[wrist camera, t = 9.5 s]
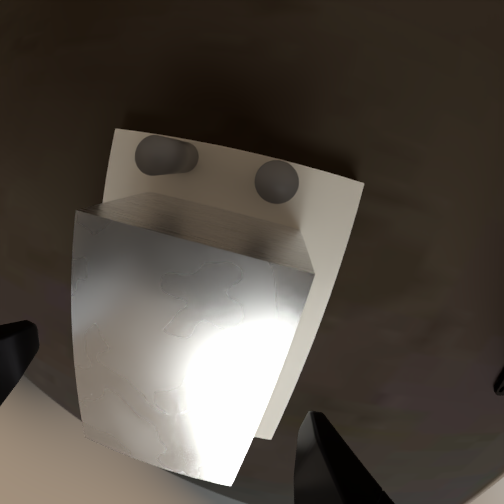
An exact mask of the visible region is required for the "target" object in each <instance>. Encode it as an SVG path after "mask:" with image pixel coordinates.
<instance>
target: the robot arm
mask: <svg viewBox="0 0 504 504" xmlns="http://www.w3.org/2000/svg"><path fill="white" fill-rule="evenodd" d="M38 349H39V337H38V329H37V326H36V325H35V324H34V323H32V322H30V321H28V320H24V321H19V322H14V323H9V324H4V325H0V406H1V404H2V403H3V402H4V400H5V399H6V398H7V396H8V395H9V394H10V392H11V391H12V390H13V388H14V387H15V386H16V384H17V383H18V382H19V380H20V378H21V377H22V375H23V374H24V372H25V370H26V369H27V367H28V366H29V364H30V362H31V361H32V359H33V358H34V356H35V355H36V353H37V351H38ZM494 392H495V393H496V395H504V372H503V374H502V376H501V377H500V379H499V381H498V382H497V384H496V385H495V387H494ZM294 504H395V503H394V502H393V501H392V500H391V499H390V498H389V496H388V495H387V494H386V493H385V491H382V488H381V487H380V485H379V484H378V483H377V482H376V480H375V479H374V478H373V477H372V475H371V474H370V473H369V472H368V470H367V469H366V468H365V467H364V465H363V464H362V463H361V462H360V460H359V459H358V458H357V456H356V455H355V454H354V453H353V451H352V450H351V449H350V448H349V446H348V445H347V444H346V442H345V441H344V440H343V438H342V437H341V436H340V435H339V433H338V432H337V431H336V429H335V428H334V427H333V425H332V424H331V423H330V421H329V420H328V419H327V418H326V416H325V415H324V414H323V413H321V412H316V411H309V412H308V413H307V415H306V417H305V419H304V421H303V423H302V425H301V427H300V429H299V433H298V441H297V451H296V460H295V469H294Z"/></svg>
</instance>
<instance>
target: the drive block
mask: <svg viewBox="0 0 504 504" xmlns="http://www.w3.org/2000/svg"><path fill="white" fill-rule="evenodd" d="M314 276H315V272H314V269H313V266H312V263H311V260H310V257H309V254H308V251H307V248H306V245H305V242H304V239H303V236H302V233H301V230H300V229H296V228H293V227H289V226H285V225H281V224H278V223H274V222H270V221H267V220H263V219H259V218H255V217H251V216H247V215H244V214H240V213H236V212H232V211H228V210H224V209H220V208H216V207H212V206H208V205H204V204H200V203H196V202H192V201H188V200H184V199H180V198H175V197H171V196H167V195H163V194H158V193H154V192H150V191H149V192H145V193H141V194H136V195H132V196H128V197H124V198H120V199H116V200H112V201H108V202H104V203H100V204H96V205H93V206H89V207H85V208H82V209H78V210H76V213H75V224H74V236H73V251H72V278H71V310H72V336H73V352H74V364H75V374H76V383H77V391H78V398H79V405H80V412H81V418H82V423H83V428H84V434H85V437H86V438H88V439H90V440H92V441H94V442H96V443H99V444H101V445H103V446H105V447H108V448H110V449H112V450H115V451H117V452H119V453H122V454H125V455H127V456H129V457H132V458H135V459H137V460H140V461H143V462H146V463H148V464H151V465H154V466H157V467H160V468H163V469H166V470H170V471H173V472H176V473H179V474H183V475H186V476H190V477H194V478H197V479H201V480H205V481H209V482H213V483H218V484H222V485H227V486H231V485H232V483H233V481H234V479H235V477H236V475H237V472H238V470H239V468H240V466H241V464H242V462H243V459H244V457H245V455H246V453H247V450H248V448H249V446H250V444H251V441H252V439H253V437H254V435H255V432H256V430H257V428H258V425H259V423H260V420H261V418H262V416H263V413H264V411H265V409H266V406H267V404H268V401H269V399H270V396H271V394H272V391H273V389H274V386H275V384H276V381H277V379H278V376H279V374H280V371H281V369H282V366H283V363H284V361H285V358H286V355H287V353H288V350H289V348H290V345H291V342H292V339H293V337H294V334H295V331H296V328H297V326H298V323H299V320H300V317H301V314H302V312H303V309H304V306H305V303H306V300H307V297H308V294H309V291H310V288H311V285H312V282H313V279H314Z"/></svg>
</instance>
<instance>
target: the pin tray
mask: <svg viewBox="0 0 504 504" xmlns="http://www.w3.org/2000/svg"><path fill="white" fill-rule="evenodd" d="M363 187H364V183H361V182H358V181H355V180H352V179H349V178H345V177H342V176H339V175H335V174H332V173H329V172H325V171H322V170H318V169H314V168H311V167H307V166H304V165H300V164H296V163H292V162H288V161H284V160H281V159H277V158H272V157H268V156H264V155H260V154H256V153H251V152H247V151H243V150H238V149H233V148H229V147H224V146H219V145H214V144H209V143H204V142H199V141H193V140H188V139H182V138H177V137H171V136H165V135H158V134H152V133H145V132H138V131H131V130H123V129H115V133H114V138H113V143H112V148H111V153H110V158H109V164H108V170H107V176H106V182H105V189H104V196H103V203H104V202H108V201H112V200H116V199H120V198H124V197H128V196H132V195H136V194H141V193H145V192H149V191H150V192H154V193H158V194H163V195H167V196H171V197H175V198H180V199H184V200H188V201H192V202H196V203H200V204H204V205H208V206H212V207H216V208H220V209H224V210H228V211H232V212H236V213H240V214H244V215H247V216H251V217H255V218H259V219H263V220H267V221H270V222H274V223H278V224H281V225H285V226H289V227H293V228H296V229H300V230H301V233H302V236H303V239H304V242H305V245H306V248H307V251H308V254H309V257H310V260H311V263H312V266H313V269H314V272H315V276H314V279H313V282H312V285H311V288H310V291H309V294H308V297H307V300H306V303H305V306H304V309H303V312H302V314H301V317H300V320H299V323H298V326H297V328H296V331H295V334H294V337H293V339H292V342H291V345H290V348H289V350H288V353H287V355H286V358H285V361H284V363H283V366H282V369H281V371H280V374H279V376H278V379H277V381H276V384H275V386H274V389H273V391H272V394H271V396H270V399H269V401H268V404H267V406H266V409H265V411H264V413H263V416H262V418H261V420H260V423H259V425H258V428H257V430H256V432H255V435H254V437H258V438H264V439H269V440H271V439H272V437H273V434H274V432H275V430H276V428H277V426H278V424H279V421H280V419H281V417H282V415H283V413H284V410H285V408H286V406H287V404H288V401H289V399H290V397H291V394H292V392H293V390H294V387H295V385H296V383H297V380H298V378H299V376H300V373H301V371H302V368H303V366H304V363H305V361H306V358H307V356H308V353H309V351H310V348H311V346H312V343H313V340H314V338H315V335H316V333H317V330H318V327H319V325H320V322H321V319H322V316H323V314H324V311H325V308H326V305H327V303H328V300H329V297H330V294H331V291H332V288H333V285H334V282H335V279H336V276H337V273H338V270H339V267H340V264H341V261H342V258H343V255H344V252H345V249H346V246H347V242H348V239H349V236H350V232H351V229H352V226H353V222H354V219H355V216H356V212H357V209H358V205H359V201H360V198H361V194H362V190H363Z"/></svg>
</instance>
